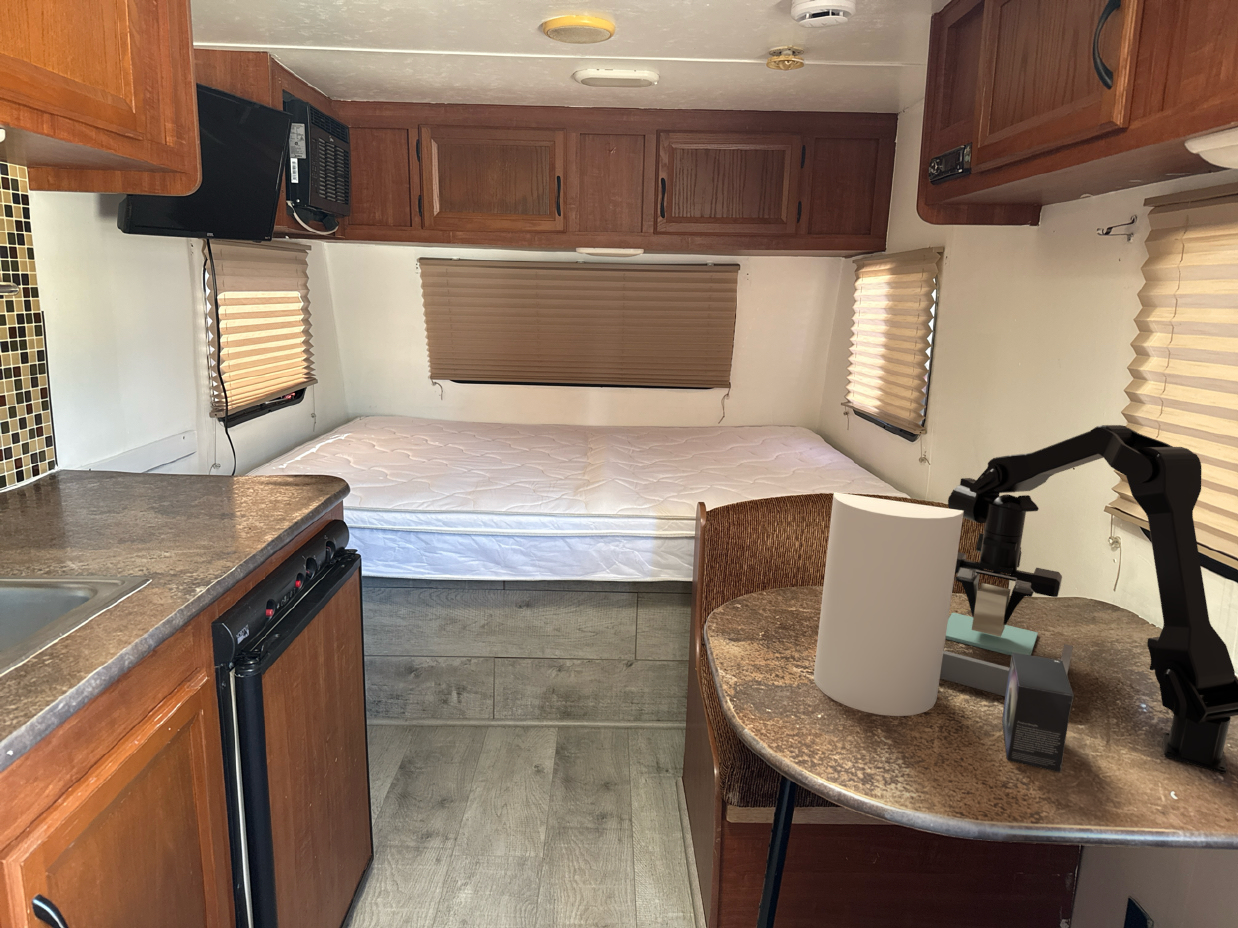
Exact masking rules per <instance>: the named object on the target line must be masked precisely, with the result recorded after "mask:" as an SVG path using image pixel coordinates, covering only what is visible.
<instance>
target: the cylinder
mask: <svg viewBox="0 0 1238 928" xmlns="http://www.w3.org/2000/svg"><path fill="white" fill-rule="evenodd" d="M831 505H832V507H831V515H830V523H829V525H830V526H829V533H828V543H827V550H826V562H825V569H824V570H825V571H824V577H823V578H824V580H823V586H822V587H823V588H822V597H821V607H820V616H819V625H818V636H817V644H816V653H815V662H814V670H813V680H814V683H815V685H816V687H817V688H818V689H819V690H820V691H821V692H822V693H823V694H825V695H826V696H828V697H829V698H830V699H832V700H833V701H835V702H837V703H839V704H842V705H844V706H846V707H849V708H851V709H854V710H855V709H856V710H858V711H862V712H865V713H870V714H875V715H881V716H892V717H894V716H895V717H904V716H905V717H907V716H914V715H915V716H916V715H918V714H922V713H925V712H927V711H929V710H930V709H932V708H933V707H934V706H935V704H936V703H937V698H938V693H939V685H940V680H941V678H940V672H941V665H942V658H943V651H945V643H946V639H945V638H946V631H947V624H948V619H949V617H950V609H951V604H952V595H953V594H952V593H953V589H954V582H955V575H956V574H955V568H956V561H957V554H958V552H959V549H960V548H959V546H960V539H961V534H962V533H961V532H962V525H963V518H964V517H963V513H964V511H962V510H955V509H949V507H948V508H947V507H940V506H934V505H925V504H920V503H919V504H918V503H913V502H906V501H898V500H892V499H885V498H878V497H871V496H864V495H857V494H856V495H855V494H851V493H844V492H835V491H834V493H833V497H832V504H831Z"/></svg>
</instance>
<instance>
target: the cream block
mask: <svg viewBox="0 0 1238 928" xmlns="http://www.w3.org/2000/svg"><path fill="white" fill-rule="evenodd" d="M1011 592H1012V591H1011V588H1008V587H1007V588H1006V587H1000V586H997V585H993V584H988V583H981V584H980V585H979V586H978V591H977V597H976V604H975V610H974V617H973V624H972V630H974V631H978V632H982V633H987V634H991V635H995V636H999V637H1001V635H1002V633H1003V631H1004V628H1005V625H1004V617H1005V613H1006V609H1007V606H1008V603H1009V600H1010V597H1011Z"/></svg>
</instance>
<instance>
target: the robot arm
mask: <svg viewBox="0 0 1238 928" xmlns="http://www.w3.org/2000/svg"><path fill="white" fill-rule="evenodd" d="M1102 459H1104V460H1105V461H1106V463H1107V464H1108V465H1109V467H1110V468H1112V469H1113V470H1115V471H1117V472H1119V473H1121V474H1122V475H1124V476H1125V477H1126V481H1127V483H1128V486H1129V490H1130V492H1131V496H1132V497H1133V499H1134V500H1135V502H1136V503H1137V504H1138V505H1139V507H1140V509H1142V511H1143V512H1144V513H1145V514H1146V517H1147V521H1148V528H1149V529H1148V530H1149V534H1150V541H1151V542H1150V543H1151V547H1152V554H1153V561H1154V566H1155V567H1154V568H1155V574H1156V579H1157V587H1158V588H1157V589H1158V593H1159V599H1160V600H1159V601H1160V606H1161V607H1160V608H1161V613H1162V620H1163V627H1162V628H1161V631H1160V634H1159V636H1156V637H1148V638H1147V650H1148V651H1149V652H1148V653H1149V656H1150V666H1149V671H1154V675H1155V678H1156V682H1158V684H1159V691H1160V697H1161V704H1162V707H1164V708H1166V709H1168V710H1170V712H1172V714H1173V717H1172V720H1171V721H1172V722H1171V724H1170V725H1171V726H1170V729H1169V730H1170V731H1169V732H1167V731H1166V732H1163V734H1162V745H1163V755H1164V757H1167V758H1170V759H1172V760H1176V761H1180V762H1184V763H1187V764H1190V765H1194V766H1197V767H1200V768H1204V769H1208V770H1211V771H1215V772H1218V773H1221V774H1227V772H1228V767H1227V766H1228V765H1227V762H1226V756H1225V752H1224V749H1225V746H1226V740H1227V738H1228V737H1227V736H1228V733H1229V727H1230V722H1231V719H1232V718H1231V717H1235V716H1238V678H1237V676H1236V674H1235V673H1236V672H1235V668H1234V665H1233V662H1232V659H1231V655H1230V652H1229V650H1228V646H1227V644H1226V643H1225V642H1224V640H1223V639H1222V637H1220V635H1219V634H1218V632H1217V631H1216V630H1215V629H1214V628H1213V626H1212V624H1211V621H1210V618H1209V611H1208V605H1207V604H1208V603H1207V598H1206V591H1205V587H1204V586H1205V584H1204V579H1203V573H1202V567H1201V560H1200V559H1201V558H1200V554H1199V553H1200V552H1199V547H1198V540H1197V534H1196V529H1195V522H1194V517H1193V516H1194V514H1193V513H1194V509H1195V506H1196V504H1197V501H1198V499H1199V496H1200V494H1201V491H1202V470H1203V469H1202V463H1201V460H1200V457H1199V456H1198V454H1197V453H1194V452H1193V451H1191V450H1190V449H1189V448H1186V447H1183V446H1172V445H1170V444H1168V443H1167V442H1164V441H1161V440H1159V439H1155V438H1153V437H1151V436H1147V435H1144V434H1142V433H1139V432H1137V431H1135V430H1133V429H1131V428H1130V427H1127V426H1126V425H1123V424H1122V425H1121V424H1110V425H1109V424H1105V425H1103V424H1101V425H1097V426H1096V427H1094V428H1092V429H1091V430H1088V431H1086V432H1083V433H1081V434H1077V435H1075V436H1072V437H1071V438H1067V439H1064V440H1062V441H1060V442H1057V443H1055V444H1052V445H1049V446H1046V447H1043V448H1041V449H1038V450H1035V451H1032V452H1028V453H1019V454H1011V455H1010V454H1008V455H1003V456H996V457H993V458H992V459H989V461H988V462H987V468H986V469H984V471H983V472H982V473H981V474H980V475H979V476H978V478H977V479H975V478H972V477H963V478H962V477H961V478H960V482H959V485H957V486H956V487H955V488H954V489H953V490H952V491H951V493H950V495H949V496H948V498H947V504H948V505H947V506H948V509H955V510H962V511H964V513H963V518H964V519H967V520H969V521H972V522H974V523H976V524H984V529H983V533H980V532H979V534H978V538H977V541H976V548H975V550H976V551H977V552H978V553H980V556H979V562H978V561H974V560H969V559H967V555H966V553H964V552H959V551H958V554H957V561H956V568H955V575H956V574H957V575H956V577H955V581H956V582H959V583H961V586H962V588H963V590H964V592H965V595H966V597H967V601H968V604H969V609H970V613H971V617H974V610H975V604H976V597H977V591H978V589H979V581H980V580H979V579H980V575H982V576H987V577H991V578H992V577H993V578H997V579H1002V580H1007V581H1012V582H1015V583H1014V586H1013V588H1012V591H1011V592H1010V597H1009V603H1008V606H1007V609H1006V613H1005V617H1004V625H1008V622H1009V620H1010V618H1011V616H1012V615H1013V613H1014V611H1015V609H1016V608H1017V606H1019V604H1020V603H1021V601H1022V600H1023V599H1024V598H1025V597H1029V598H1031V597H1033V595H1034V593H1035V594H1037V595H1042V596H1047V597H1052V598H1057V597H1058V596H1059V593H1060V590H1061V586H1062V580H1063V576H1062V574H1061V573H1060V572H1059V571H1055V570H1051V569H1046V568H1042V567H1035V569H1034V572H1030V571H1024V570H1019V569H1018V568H1019V567H1020V565H1021V558H1022V547H1021V545H1022V539H1023V535H1024V534H1023V533H1024V527H1025V520H1026V514H1027V513H1029V512H1030V513H1031V512H1038V511H1039V510H1040V509H1039V506H1038V505H1037V504H1036V503H1035V502H1034V500H1032V497H1031V496H1030V495H1029V494H1028V495H1027V494H1025V495H1024V494H1023V495H1018V496H1015V495H1012V494H1010V493H1017V492H1018V493H1019V492H1020V493H1021V492H1031V491H1033V490H1034V489H1036V488H1038V487H1040V486H1041V485H1044V484H1045V483H1047V481H1048V480H1049V479H1050V477H1052V476H1054V475H1056V474H1058V473H1062V472H1064V471H1069V470H1071V469H1073V468H1076V467H1081V466H1082V465H1085V464H1088V463H1092V462H1095V461H1097V460H1102ZM1008 493H1009V494H1008ZM1000 494H1002V495H1000Z"/></svg>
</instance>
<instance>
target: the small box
mask: <svg viewBox="0 0 1238 928" xmlns="http://www.w3.org/2000/svg"><path fill="white" fill-rule="evenodd" d="M1009 668H1010V669H1009V675H1008V682H1007V689H1006V696H1004V704H1003V710H1002V711H1003V712H1002V717H1001V718H1002V720H1001V724H1002V725H1001V726H1002V730H1003V731H1002V732H1003V739H1004V740H1003V741H1004V747H1005V753H1006V754H1005V756H1006V760H1007V761H1008V762H1012V763H1017V764H1021V765H1026V766H1030V767H1034V768H1035V767H1036V768H1040V769H1044V770H1048V771H1051V772H1057V773H1061V772H1062V769H1063V761H1064V760H1063V759H1064V754H1065V753H1064V751H1065V745H1066V740H1067V733H1068V727H1069V721H1070V714H1071V710H1072V705H1073V701H1074V697H1075V695H1074V692H1073V689H1072V686H1071V684H1070V680H1069V677H1068V675H1067V674H1066V671H1065V668H1064V665H1063V662H1062V660H1061V659H1057V658H1056V659H1055V658H1048V657H1043V656H1037V655H1032V654H1031V655H1025V654H1019V653H1012V656H1011V658H1010V663H1009Z"/></svg>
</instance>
